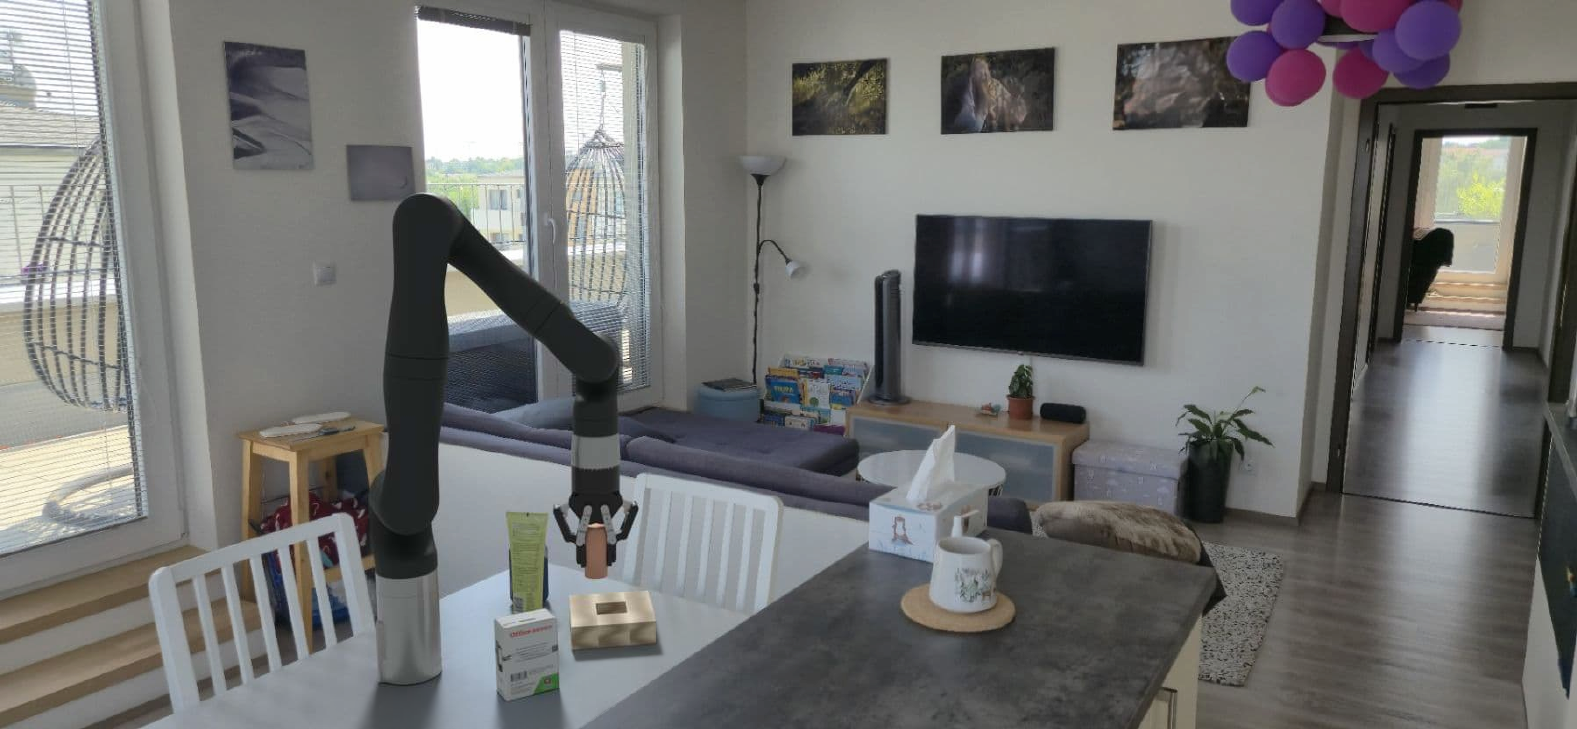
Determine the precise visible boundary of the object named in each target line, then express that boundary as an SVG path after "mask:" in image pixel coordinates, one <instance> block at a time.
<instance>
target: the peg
mask: <svg viewBox="0 0 1577 729" xmlns="http://www.w3.org/2000/svg"><path fill="white" fill-rule="evenodd" d="M584 542H585V568H584V577H585V578H586V579H589V580H601V579H605V578H607V576H608V574H609V572H608V570H609V569H608V567H609V566H608V567H607V543H608V536H607V532H606V528H605V524H597V523H596V524H592V525H588V528H587V532H586V535H585V539H584Z"/></svg>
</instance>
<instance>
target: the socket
mask: <svg viewBox="0 0 1577 729" xmlns="http://www.w3.org/2000/svg"><path fill="white" fill-rule="evenodd" d="M649 592H650V591H649V590H635V591H634V590H632V591H619V592H605V593H604V592H603V593H589V594H572V595H571V594H569V596H568V597H569V598H568V604H569V605H568V606H569V610H568V611H569V628H570V644H571V645H570V646H571V650H573V651H574V650H586V649H588V650H589V649H601V648H612V647H613V648H615V647H628V646H629V647H630V646H638V645H639V646H640V645H641V646H642V645H653V644H657V620H656V617H655V611H654V609H653V604H652V601H651V597H650V593H649Z"/></svg>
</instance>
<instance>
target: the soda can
mask: <svg viewBox="0 0 1577 729" xmlns="http://www.w3.org/2000/svg"><path fill="white" fill-rule="evenodd" d="M548 551H549V550H548V546H547V544H546V543H545V552H544V571H543V599H542V604H543V605H544V604H545V603H546V601H547V599H548V597H549V595H550V594H549V592H550V591H549V590H550V588H549V556H548V555H549V552H548ZM508 566H509V568H508V570H509V571H508V573H509V598H510V601H511V602H512V603H513V582H512V566H511V552H510V548H508Z"/></svg>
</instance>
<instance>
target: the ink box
mask: <svg viewBox="0 0 1577 729" xmlns="http://www.w3.org/2000/svg"><path fill="white" fill-rule="evenodd" d="M493 623H494V624H493V625H494V627H493V629H494V630H493V631H494V655H495V676H496V679H495V680H496V681H495V682H496V691H497V692H498V693H499V695H500V696H501V695H502V696H503V697H502V698H503V699H504V700H505V701H506V702H511V701H515V700H518V699H522V698H525V697H529V696H533V695H536V694H537V695H538V694H541V693H544V692H549V691H552V690H555V689H560V686H561V685H560V666H559V664H560V663H559V662H560V661H559V660H560V659H559V641H558V640H559V639H558V638H559V634H558V632H559V631H558V618H557V617H556V616H555V615H554V614H553V612H551V611H550V610H549V609H548V608H546V607H544V608H542V609H539V610H535V611H530V612H525V613H520V614H515V615H514V614H511V615H506V616H501V617H496V618H494V620H493Z"/></svg>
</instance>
